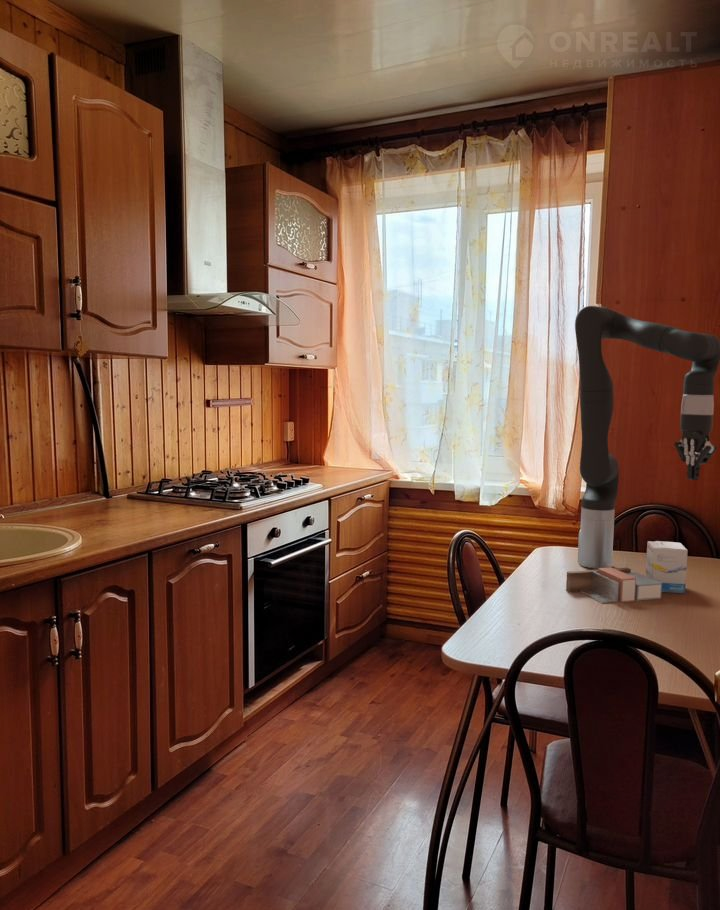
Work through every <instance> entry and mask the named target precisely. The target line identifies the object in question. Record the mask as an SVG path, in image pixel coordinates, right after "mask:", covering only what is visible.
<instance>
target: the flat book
mask: <svg viewBox="0 0 720 910" xmlns="http://www.w3.org/2000/svg"><path fill="white" fill-rule="evenodd" d="M626 574H628V575H630V576H633V577H635V578H636V589H635V601H647V600H660V599H662V592H661V590H662V583H661V582H658V581H656V580H653V579H651V578H649V577H646V576H645V575H644V574H641V573H639V572H635V571H633V572H631V573H626Z"/></svg>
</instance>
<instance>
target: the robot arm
mask: <svg viewBox="0 0 720 910" xmlns="http://www.w3.org/2000/svg"><path fill="white" fill-rule="evenodd" d="M574 332H575V339H576V346H577V347H576V348H577V353H578V371H579V374H578V375H579V407H580V409H579V410H580V429H581V448H580V460H579V461H580V462H579V473H580V475H581V478H582V479H583V481H584V483H585V484H586V485H585V491H584V494H583V496H582V498H581V507H580V508H581V509H580V512H581V513H580V530H579V531H578V542H577V543H578V544H577V545H578V546H577V548H578V549H577V562H578V565H580V566H582V567H583V568H589V569H593V570H598V568H611V567H612V568H613V566H612V565H613V551H614V550H613V548H614V547H613V546H614V534H615V533H614V529H615V506H616V501H617V497H618V493H619V483H620V482H619V481H620V477H619V476H620V467H619V466H620V465H619V462H618V460H617V459H616V458H615V456H613V455H612V454H610V452H609V441H608V440H609V433H610V432H609V431H610V426H611V423H612V418H613V414H614V406H615V404H614V403H615V399H614V398H615V397H614V396H615V395H614V383H613V379H612V377H611V375H610V371H609V369H608V367H607V366H606V363H605V361H604V357H603V350H602V340H603V339H610V340H611V339H612V340H613V339H614V340H623V341H627V342H631V343H633V344H635V345H638V346H640V347H642V348H644V349H648V350H651V351H655V352H658V353H663V354H668V355H671V356H674V357H677V358H679V359H682V360H686V361H690V362H692V364H691V370H690V371H688V372H687V373H686V374H685V375H684V379H683V390H682V399H681V405H680V421H679V422H680V423H679V430H681V431H682V434H681V435H680V437H681V439H680V440H679V441H675V442H674V447H675V449H676V452H677V453H678V454H677V455H679V458H680V460H681V462H683V463H685V464H686V465H687V469H686V470H687V471H686V477H687V479H688V481H689V480H690V481H698V480H699V478H700V472H701V466H702V465H706V464H708V462H709V460H710V459H711V458H712V456H714V454H715V452H716V450H717V449H718V446H716V445H712V443H711V437H710V432H712V431H713V425H714V423H713V422H714V421H713V420H714V408H715V401H714V395H715V394H714V392H715V391H714V390H715V377H716V374H717V372H718V370H719V369H718V368H719V365H720V340H719V338H718V337H717V336H716V335H713V334H708V333H707V334H706V333H700V332H699V333H698V332H692V331H687V330H682V329H680V328H679V327H675V326H671V325H667V324H661V323H658V322H652V321H645V320H639V319H636V318H633V317H629V316H627V315H624V314H622V313H621V312H617V311H615V310H613V309H611V308H609V307H607V306H600V305H599V306H597V305H588V306H584V307H581V308H580V310H579V311H578V312H577V314H576V317H575V320H574Z"/></svg>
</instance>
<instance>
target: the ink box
mask: <svg viewBox="0 0 720 910" xmlns="http://www.w3.org/2000/svg"><path fill="white" fill-rule="evenodd" d="M646 545H647V547H646V557H645V558H646V560H645V561H646V563H645V564H646V565H645V575H644V576H646V577H649V578H651V579H653V580H656V581H658V582H661V583H662V590H661V593H673V594H674V593H675V594H686V584H687V583H686V582H687V565H688V552H689V551H688V549H687V548H686V547H685V545H683V544H682V543H681V542H675V541H662V540H661V541H660V540H655V541H650V540H647V543H646Z"/></svg>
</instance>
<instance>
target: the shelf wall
mask: <svg viewBox="0 0 720 910" xmlns="http://www.w3.org/2000/svg"><path fill="white" fill-rule="evenodd" d="M613 568H614V567H613ZM614 569H616V570H619V571H621V572H623V573H632V571H631V570H632V568H629V567H618V568H617V567H616V568H614ZM592 572H597V573H598V569H589V570H588V569H587V570H572V571H567V572H566V586H565V589H566V590H565V591H566V592H567V593H578V592H579V590H586V589H591V588H592ZM579 593H580V592H579Z"/></svg>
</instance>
